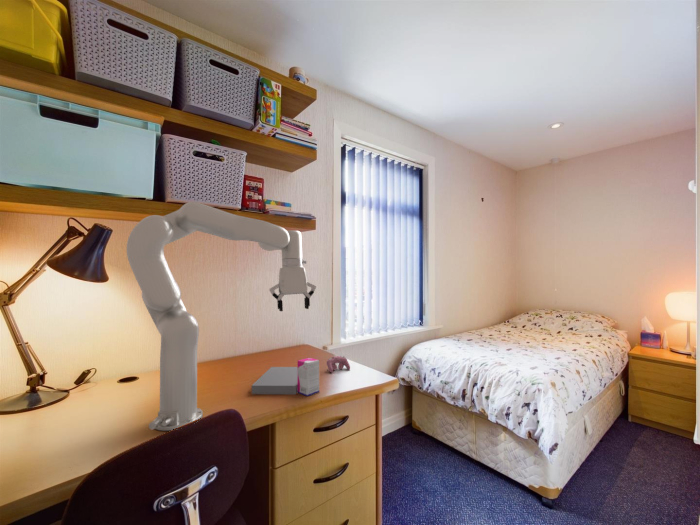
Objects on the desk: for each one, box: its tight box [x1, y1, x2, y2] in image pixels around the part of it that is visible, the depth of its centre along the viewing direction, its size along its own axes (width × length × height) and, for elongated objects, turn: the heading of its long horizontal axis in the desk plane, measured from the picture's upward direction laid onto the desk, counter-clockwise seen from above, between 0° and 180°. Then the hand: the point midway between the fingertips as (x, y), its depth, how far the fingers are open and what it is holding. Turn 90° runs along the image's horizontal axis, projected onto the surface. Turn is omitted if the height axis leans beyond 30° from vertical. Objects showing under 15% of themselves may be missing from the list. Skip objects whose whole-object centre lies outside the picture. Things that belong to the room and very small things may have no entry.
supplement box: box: [297, 357, 320, 397], centre depth 109 cm, size 6×6×12 cm
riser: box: [251, 366, 298, 395], centre depth 118 cm, size 22×16×3 cm
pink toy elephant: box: [326, 355, 351, 374], centre depth 134 cm, size 10×5×7 cm, turn 116°
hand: (294, 309), depth 113 cm, fingers open, 9 cm apart
